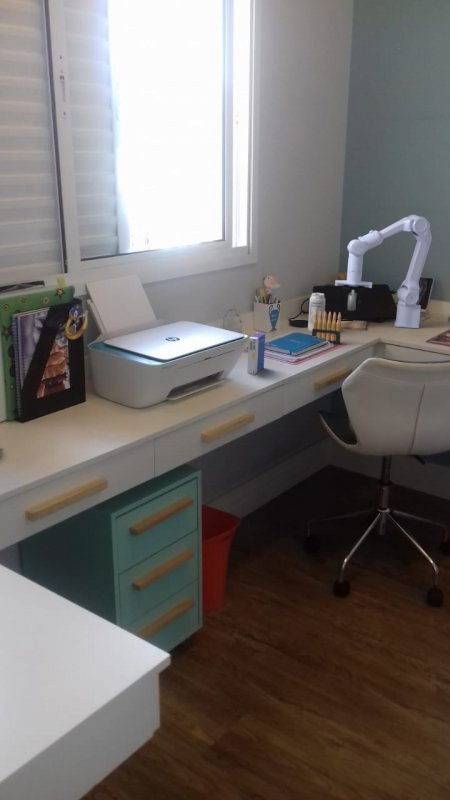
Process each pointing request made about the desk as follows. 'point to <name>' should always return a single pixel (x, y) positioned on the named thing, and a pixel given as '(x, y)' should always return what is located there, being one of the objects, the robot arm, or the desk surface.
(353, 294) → the connector
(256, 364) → the purple white carton box
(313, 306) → the energy drink can
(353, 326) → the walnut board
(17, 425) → the desk surface
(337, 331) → the ammunition clip
